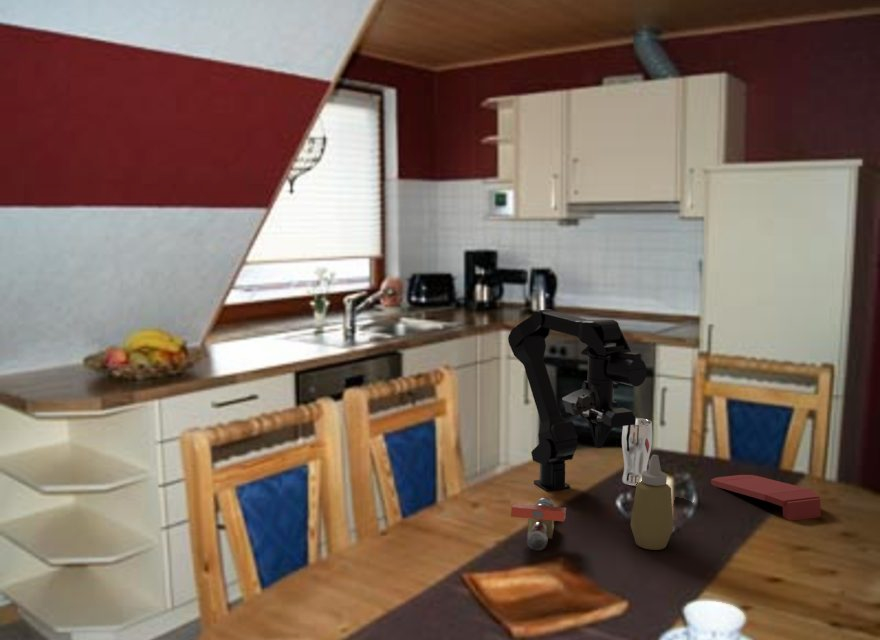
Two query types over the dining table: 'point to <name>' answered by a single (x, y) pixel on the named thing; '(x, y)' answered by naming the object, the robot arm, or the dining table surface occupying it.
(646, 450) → the beer glass
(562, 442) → the robot arm
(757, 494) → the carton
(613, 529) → the dining table surface
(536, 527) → the valve
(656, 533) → the squeeze bottle
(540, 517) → the valve lever
